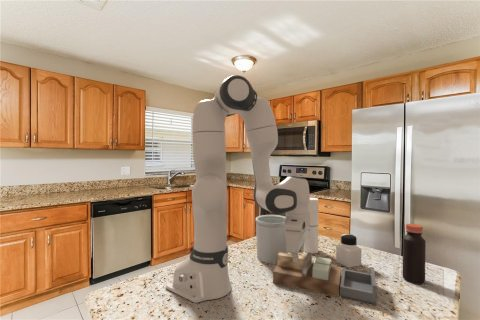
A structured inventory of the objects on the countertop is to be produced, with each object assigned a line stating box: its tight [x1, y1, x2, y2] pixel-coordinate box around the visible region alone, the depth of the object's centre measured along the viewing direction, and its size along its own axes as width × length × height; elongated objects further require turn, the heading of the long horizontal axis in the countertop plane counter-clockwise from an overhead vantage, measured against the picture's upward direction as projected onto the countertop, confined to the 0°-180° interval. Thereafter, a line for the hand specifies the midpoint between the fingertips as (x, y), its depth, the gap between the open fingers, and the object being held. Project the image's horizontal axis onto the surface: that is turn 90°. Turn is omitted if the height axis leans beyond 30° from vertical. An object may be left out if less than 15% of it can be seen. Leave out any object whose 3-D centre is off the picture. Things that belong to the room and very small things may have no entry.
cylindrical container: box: [303, 197, 319, 254], centre depth 119 cm, size 7×7×25 cm
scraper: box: [276, 252, 313, 277], centre depth 92 cm, size 12×12×4 cm
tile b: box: [314, 256, 332, 270], centre depth 91 cm, size 5×5×3 cm
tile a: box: [312, 262, 330, 280], centre depth 85 cm, size 5×5×3 cm
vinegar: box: [402, 223, 427, 285], centre depth 91 cm, size 7×7×20 cm
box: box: [339, 266, 378, 306], centre depth 83 cm, size 10×14×6 cm
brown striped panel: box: [272, 261, 342, 298], centre depth 90 cm, size 22×14×4 cm, turn 65°
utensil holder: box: [255, 214, 288, 265], centre depth 110 cm, size 15×15×18 cm
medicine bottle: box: [335, 233, 362, 269], centre depth 105 cm, size 7×7×12 cm
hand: (298, 256), depth 92 cm, fingers open, 8 cm apart
